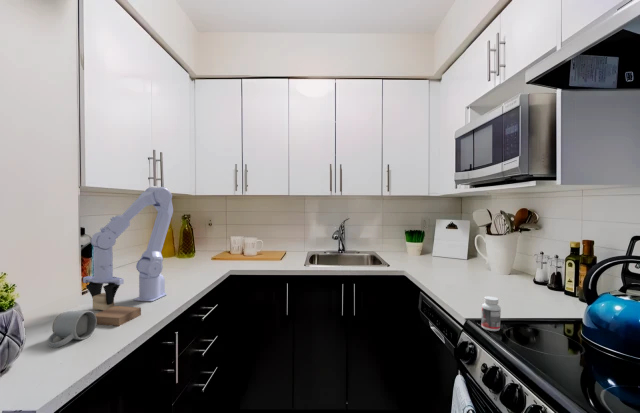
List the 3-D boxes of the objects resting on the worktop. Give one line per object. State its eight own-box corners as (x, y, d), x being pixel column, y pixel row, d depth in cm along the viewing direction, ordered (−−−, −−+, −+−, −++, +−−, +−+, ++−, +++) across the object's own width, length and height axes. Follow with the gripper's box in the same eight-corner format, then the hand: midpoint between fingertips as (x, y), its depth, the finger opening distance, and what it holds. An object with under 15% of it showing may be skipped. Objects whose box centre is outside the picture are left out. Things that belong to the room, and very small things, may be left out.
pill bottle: (477, 325, 110) (478, 295, 110) (493, 324, 110) (494, 295, 110) (487, 331, 104) (488, 300, 104) (503, 331, 105) (504, 300, 105)
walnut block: (114, 314, 116) (114, 305, 115) (140, 316, 114) (140, 307, 114) (90, 325, 106) (90, 315, 106) (118, 327, 104) (118, 318, 104)
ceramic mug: (72, 331, 100) (71, 305, 99) (97, 332, 99) (97, 307, 99) (38, 347, 89) (37, 319, 89) (66, 349, 88) (65, 321, 88)
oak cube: (102, 305, 122) (102, 292, 122) (114, 305, 121) (113, 293, 121) (92, 309, 118) (92, 296, 118) (104, 310, 117) (104, 297, 117)
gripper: (75, 267, 116) (75, 305, 117) (112, 269, 114) (113, 308, 114) (92, 263, 123) (92, 299, 124) (127, 264, 121) (127, 302, 121)
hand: (103, 303), depth 120 cm, fingers closed on oak cube, 4 cm apart
